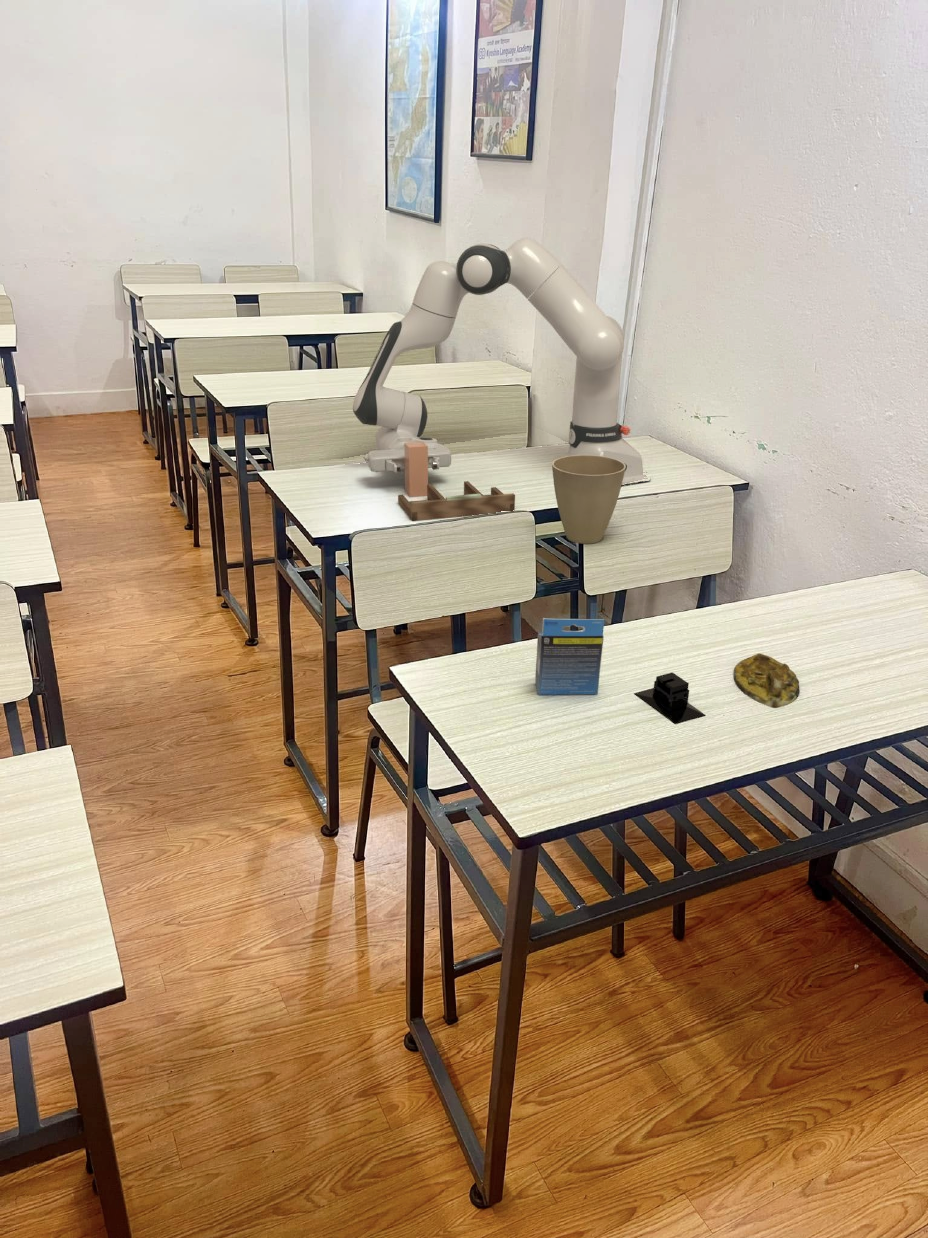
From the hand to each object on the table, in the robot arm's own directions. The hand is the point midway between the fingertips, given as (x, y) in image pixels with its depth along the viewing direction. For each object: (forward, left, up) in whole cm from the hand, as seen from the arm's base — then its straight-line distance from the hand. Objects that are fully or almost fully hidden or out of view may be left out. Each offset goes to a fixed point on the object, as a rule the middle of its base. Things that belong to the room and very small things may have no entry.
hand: (417, 467), depth 211 cm
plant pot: (-26, +38, -7) cm, 47 cm away
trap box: (-6, +12, -7) cm, 15 cm away
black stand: (-9, +104, -7) cm, 105 cm away
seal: (-27, +103, -7) cm, 106 cm away
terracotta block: (0, -1, -7) cm, 7 cm away
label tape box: (+3, +96, -7) cm, 97 cm away
